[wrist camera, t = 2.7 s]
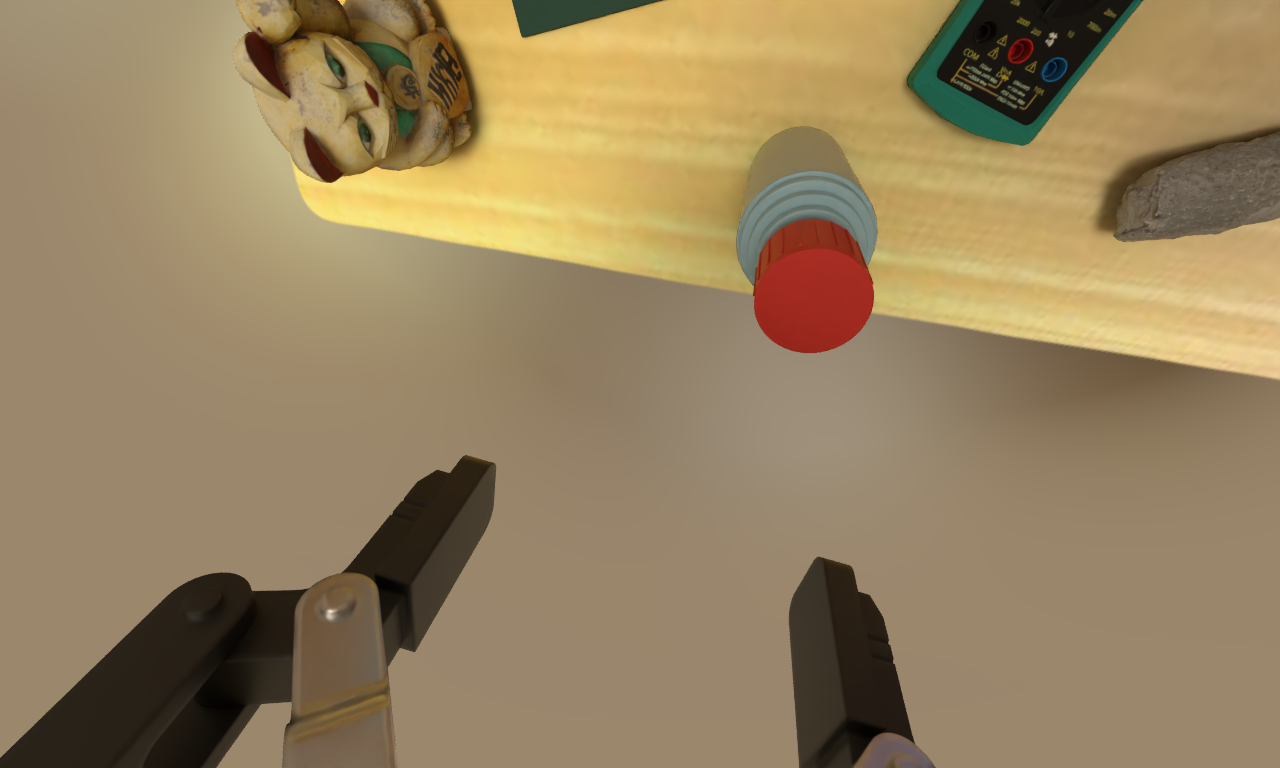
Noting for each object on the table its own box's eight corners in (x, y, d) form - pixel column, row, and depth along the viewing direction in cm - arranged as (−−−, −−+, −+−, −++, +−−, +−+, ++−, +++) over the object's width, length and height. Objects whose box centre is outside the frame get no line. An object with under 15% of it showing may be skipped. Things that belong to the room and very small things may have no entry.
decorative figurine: (505, 139, 36) (366, 190, 24) (413, 172, 39) (248, 233, 27) (438, -27, 32) (225, -66, 20) (340, 24, 35) (101, 17, 22)
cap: (863, 210, 19) (877, 239, 16) (860, 309, 21) (873, 350, 18) (752, 224, 20) (748, 254, 17) (760, 317, 22) (757, 357, 19)
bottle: (846, 117, 31) (913, 198, 16) (845, 217, 34) (901, 367, 19) (745, 136, 33) (715, 225, 17) (753, 229, 36) (733, 376, 20)
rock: (1357, 106, 26) (1279, 189, 30) (1125, 144, 28) (1082, 217, 32) (1420, 154, 24) (1326, 237, 28) (1163, 192, 26) (1111, 264, 30)
